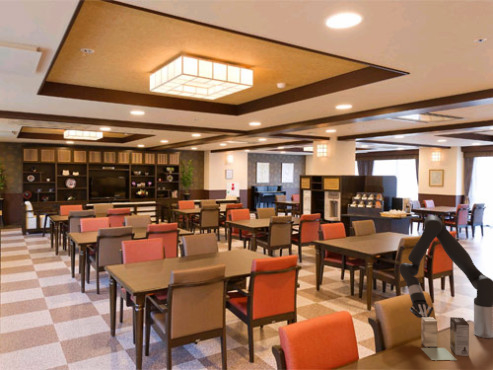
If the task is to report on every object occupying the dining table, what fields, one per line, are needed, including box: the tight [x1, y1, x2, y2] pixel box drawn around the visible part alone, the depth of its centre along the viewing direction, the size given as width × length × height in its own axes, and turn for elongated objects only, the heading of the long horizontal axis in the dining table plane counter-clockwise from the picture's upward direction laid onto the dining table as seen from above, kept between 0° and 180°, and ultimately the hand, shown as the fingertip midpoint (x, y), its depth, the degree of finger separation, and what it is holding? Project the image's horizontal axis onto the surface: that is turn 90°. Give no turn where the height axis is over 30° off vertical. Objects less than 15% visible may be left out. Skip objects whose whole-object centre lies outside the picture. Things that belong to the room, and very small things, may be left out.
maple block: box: [420, 316, 438, 348], centre depth 199 cm, size 5×6×14 cm
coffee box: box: [449, 316, 470, 357], centre depth 191 cm, size 9×6×16 cm
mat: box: [420, 347, 458, 362], centre depth 189 cm, size 13×12×1 cm
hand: (426, 324), depth 202 cm, fingers closed
